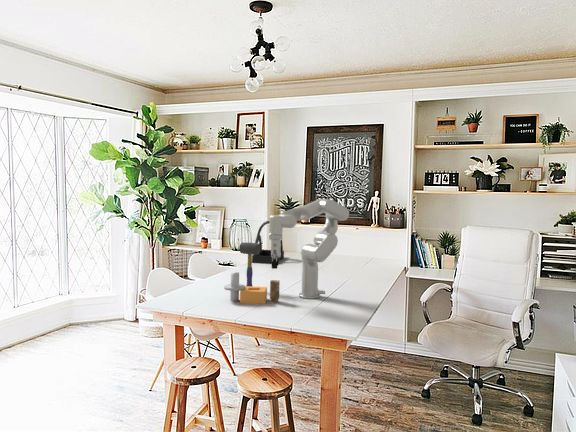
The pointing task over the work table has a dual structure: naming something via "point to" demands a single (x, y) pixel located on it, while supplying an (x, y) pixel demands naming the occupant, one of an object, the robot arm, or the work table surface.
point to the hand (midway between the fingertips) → (275, 266)
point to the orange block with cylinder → (245, 291)
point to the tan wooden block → (274, 290)
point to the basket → (264, 255)
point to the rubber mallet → (249, 257)
